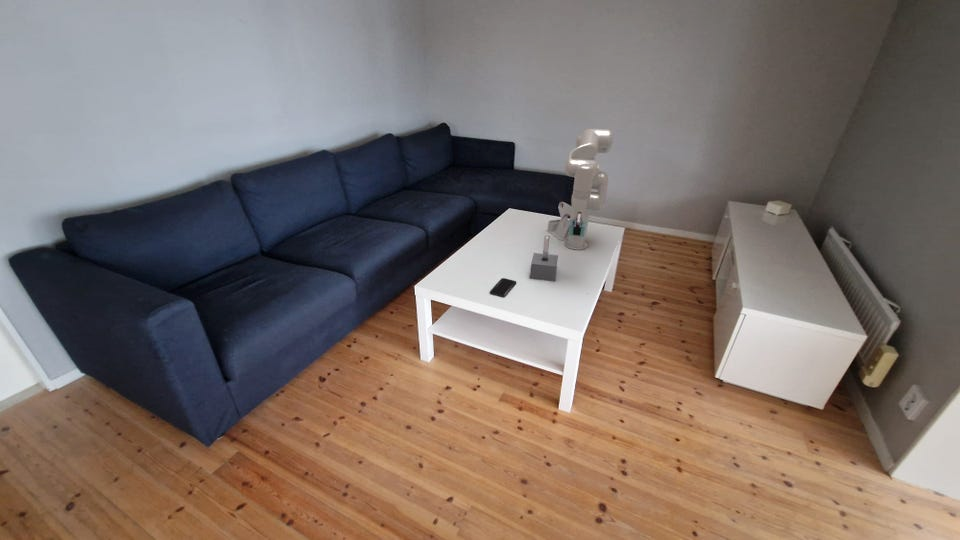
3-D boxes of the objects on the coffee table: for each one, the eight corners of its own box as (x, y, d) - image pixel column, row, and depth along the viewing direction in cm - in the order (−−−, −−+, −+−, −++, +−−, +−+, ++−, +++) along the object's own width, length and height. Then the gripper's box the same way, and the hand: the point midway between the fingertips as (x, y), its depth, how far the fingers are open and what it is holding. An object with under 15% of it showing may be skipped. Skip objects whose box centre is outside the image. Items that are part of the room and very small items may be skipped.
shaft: (542, 261, 192) (544, 235, 185) (547, 262, 191) (549, 235, 185) (541, 263, 190) (544, 237, 183) (546, 264, 189) (549, 237, 182)
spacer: (569, 230, 181) (570, 219, 179) (583, 231, 180) (585, 221, 178) (568, 235, 176) (570, 225, 173) (583, 236, 174) (585, 226, 172)
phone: (517, 281, 185) (504, 296, 173) (517, 283, 186) (504, 298, 174) (502, 277, 188) (488, 292, 177) (501, 279, 189) (488, 294, 177)
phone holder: (545, 230, 242) (548, 202, 233) (559, 228, 245) (562, 200, 237) (560, 241, 228) (564, 212, 219) (575, 238, 231) (579, 209, 223)
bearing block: (532, 266, 200) (533, 252, 196) (556, 269, 197) (558, 255, 193) (529, 278, 189) (531, 263, 186) (555, 281, 187) (556, 266, 183)
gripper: (573, 187, 177) (568, 224, 186) (572, 199, 162) (567, 238, 171) (590, 188, 175) (585, 225, 184) (590, 200, 161) (585, 240, 169)
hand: (576, 231), depth 177 cm, fingers closed on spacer, 6 cm apart
